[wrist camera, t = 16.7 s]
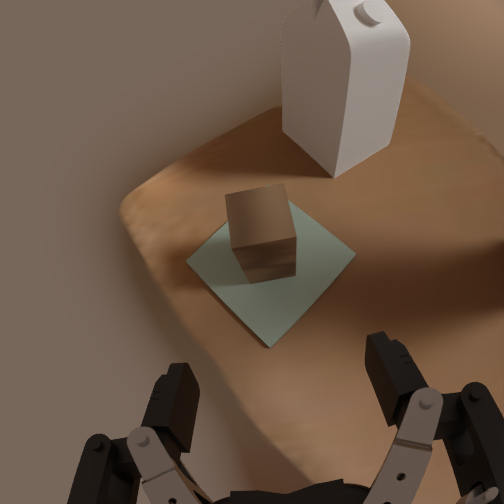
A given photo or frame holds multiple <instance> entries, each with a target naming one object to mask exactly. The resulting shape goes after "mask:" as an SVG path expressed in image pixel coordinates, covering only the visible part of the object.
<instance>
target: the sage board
mask: <svg viewBox="0 0 504 504" xmlns="http://www.w3.org/2000/svg"><path fill="white" fill-rule="evenodd" d="M267 186H268V185H267ZM267 186H266V187H267ZM288 202H289V206H290V210H291V214H292V218H293V223H294V227H295V231H296V235H297V250H296V276H292V277H287V278H282V279H276V280H271V281H265V282H260V283H254V284H250V283H249V281H248V279H247V277H246V275H245V273H244V271H243V270H242V268H241V266H240V264H239V262H238V260H237V258H236V257H235V255H234V253H233V251H232V249H231V242H230V234H229V225H228V221H227V222H226V223H225V224H224V225H223V226H222V227H221V228H220V229H219V230H218V231H217V232H216V233H215V234H213V235H212V236H211V237H210V238H209V239H208V240H207V241H206V242H205V243H204V244H203V245H202V246H201V247H200V248H199V249H198V250H197V251H196V252H194V253H193V254H192V255H191V256H190V257H189V258H188V259H187V260H186V263H187V264H188V265H189V266H190V267H191V268H192V269H193V270H194V271H195V272H196V273H197V274H198V275H199V277H200V278H201V279H202V280H203V281H204V282H205V283H206V284H207V285H208V286H209V287H210V288H211V289H212V290H213V291H214V292H215V293H216V294H217V295H218V297H219V298H220V299H221V300H222V301H223V302H224V303H225V304H226V305H227V306H228V307H229V308H230V309H231V310H232V311H233V312H234V313H235V314H236V315H237V316H238V317H239V318H240V319H241V320H242V321H243V322H244V323H245V324H246V325H247V326H248V327H249V328H250V329H251V330H252V331H253V332H254V333H255V334H256V335H257V336H258V337H259V338H260V339H261V340H262V341H263V342H264V343H265V344H266V345H268V346H269V347H270V348H271V347H272V346H273V345H274V344H275V343H276V342H277V341H278V340H279V339H280V338H281V337H282V336H283V335H284V334H285V333H286V332H287V331H288V330H289V329H290V328H291V327H292V326H293V325H294V324H295V323H296V322H297V321H298V320H299V318H300V317H301V316H302V315H303V314H304V313H305V312H306V311H307V310H308V309H309V308H310V307H311V306H312V305H313V303H314V302H315V301H316V300H317V299H318V298H319V297H320V296H321V295H322V294H323V292H324V291H325V290H326V289H327V288H328V287H329V286H330V285H331V284H332V282H333V281H334V280H335V279H336V278H337V277H338V276H339V274H340V273H341V272H342V271H343V270H344V269H345V267H346V266H347V265H348V264H349V263H350V261H351V260H352V259H353V258H354V257H355V255H356V253H355V252H354V251H352V250H351V249H350V248H349V247H347V246H346V245H345V244H344V243H343V242H341V241H340V240H339V239H338V238H336V237H335V236H334V235H333V234H331V233H330V232H329V231H328V230H326V229H325V228H324V227H323V226H321V225H320V224H319V223H318V222H316V221H315V220H314V219H312V218H311V217H310V216H308V215H307V214H306V213H305V212H303V211H302V210H301V209H299V208H298V207H297V206H295V205H294V204H293V203H291V202H290V201H289V200H288Z"/></svg>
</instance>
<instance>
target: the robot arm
mask: <svg viewBox="0 0 504 504" xmlns="http://www.w3.org/2000/svg"><path fill="white" fill-rule="evenodd" d="M365 367H366V371H367V373H368V376H369V378H370V381H371V383H372V386H373V388H374V391H375V393H376V396H377V398H378V401H379V403H380V406H381V409H382V411H383V414H384V417H385V419H386V422H387V425H388V427H389V426H392V425H395V424H396V426H397V429H398V431H397V433H396V436H395V438H394V440H393V443H392V445H391V447H390V450H389V452H388V454H387V456H386V458H385V460H384V462H383V464H382V466H381V468H380V470H379V472H378V474H377V476H376V478H375V480H374V481H373V483H372V485H371V487H370V488H368V487H366V486H362V485H358V484H349V483H344V482H343V479H338V480H334V481H329V482H324V483H318V484H314V485H311V486H309V487H306V488H303V489H301V490H298V491H295V492H292V493H289V494H280V493H272V492H265V491H258V490H256V491H231V492H230V497H226V498H223V499H220V500H218V501H215V502H213V501H212V500H211V499H210V498H209V496H208V495H207V494H206V493H205V492H204V491H203V490H202V489H201V488H200V487H199V485H198V484H197V482H196V481H195V480H194V478H193V477H192V476H191V474H190V473H189V471H188V470H187V469H186V467H185V465H184V464H183V462H182V461H181V460H180V456H181V452H183V453H190V448H191V442H192V436H193V430H194V425H195V419H196V413H197V408H198V402H199V397H200V389H199V385H198V382H197V380H196V378H195V376H194V374H193V372H192V370H191V368H190V366H189V364H188V363H172V364H171V365H170V366H169V369H168V372H167V375H161V377H160V378H159V379H158V380H157V381H156V383H155V385H154V388H153V391H152V392H153V393H152V394H151V397H150V401H149V403H148V406H147V409H146V412H145V415H144V418H143V421H142V424H141V427H139V428H136V429H134V430H133V431H132V432H131V433H130V434H129V436H128V437H126V438H120V439H114V440H110V439H109V438H108V437H107V436H106V435H103V434H95V435H93V436H91V437H90V438H89V439H88V440H87V442H86V444H85V447H84V450H83V453H82V456H81V459H80V462H79V465H78V468H77V471H76V475H75V478H74V481H73V484H72V488H71V492H70V495H69V499H68V502H67V504H136V502H137V495H138V490H139V484H140V479H141V478H142V477H143V480H144V481H143V482H142V487H143V489H144V491H145V493H146V495H147V497H148V498H149V500H150V502H151V504H411V503H412V501H413V499H414V497H415V494H416V492H417V490H418V488H419V485H420V483H421V480H422V478H423V476H424V473H425V470H426V468H427V465H428V462H429V460H430V457H431V453H432V447H431V446H432V442H433V440H439V439H443V442H444V444H445V447H446V450H447V453H448V456H449V459H450V462H451V465H452V468H453V471H454V474H455V478H456V481H457V484H458V488H459V491H460V495H461V498H460V499H459V500H458V501H457V503H456V504H504V418H503V416H502V414H501V412H500V410H499V408H498V407H497V405H496V403H495V401H494V399H493V397H492V396H491V394H490V392H489V390H488V389H487V387H486V386H485V385H483V384H481V383H479V382H472V383H469V384H467V385H466V386H465V387H464V388H463V389H462V391H461V392H457V393H449V394H440V392H438V391H437V390H436V389H433V388H429V386H428V385H427V383H426V381H425V380H424V378H423V376H422V374H421V373H420V371H419V369H418V367H417V366H416V364H415V362H413V359H412V357H411V355H409V352H408V350H407V349H406V347H405V345H403V344H402V343H400V342H399V341H398V340H396V339H395V340H392V341H390V340H389V339H388V337H387V335H386V333H385V332H384V331H382V332H378V333H374V334H370V335H367V339H366V351H365Z"/></svg>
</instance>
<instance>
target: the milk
mask: <svg viewBox="0 0 504 504" xmlns="http://www.w3.org/2000/svg"><path fill="white" fill-rule="evenodd" d="M409 51H410V39H409V35H408V33H407V31H406V29H405V28H404V26H403V24H402V23H401V22H400V20H399V19H398V17H397V16H396V15H395V13H394V12H393V11H392V9H391V8H390V7H389V6H388V4H387V3H386V2H385V1H384V0H303V1H301V2H300V3H299V4H298V5H297V6H295V7H294V8H293V9H292V10H291V11H289V12H288V13H287V14H286V15H285V17H284V18H283V20H282V23H281V55H282V56H281V57H282V131H283V132H284V133H285V134H286V135H287V136H289V137H290V138H291V139H292V140H293V141H294V142H295V143H297V144H298V145H299V146H300V147H301V148H302V149H303V150H304V151H305V152H307V153H308V154H309V155H310V156H311V157H312V158H313V159H314V160H315V161H316V162H317V163H318V164H319V165H320V166H322V167H323V168H324V169H325V170H326V171H327V172H328V173H329V174H330V175H331V176H332V177H333V178H336V177H337V176H339V175H340V174H342V173H344V172H345V171H347V170H348V169H350V168H352V167H353V166H355V165H356V164H358V163H360V162H361V161H363V160H365V159H366V158H368V157H369V156H371V155H373V154H374V153H376V152H378V151H379V150H381V149H383V148H384V147H386V146H388V145H389V144H390V140H391V136H392V132H393V129H394V125H395V121H396V117H397V112H398V108H399V104H400V99H401V95H402V90H403V85H404V80H405V75H406V69H407V63H408V57H409Z"/></svg>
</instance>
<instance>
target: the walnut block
mask: <svg viewBox="0 0 504 504" xmlns="http://www.w3.org/2000/svg"><path fill="white" fill-rule="evenodd" d="M225 199H226V208H227V217H228V225H229V234H230V242H231V249H232V251H233V253H234V255H235V257H236V258H237V260H238V262H239V264H240V266H241V268H242V270H243V271H244V273H245V275H246V277H247V279H248V281H249V283H250V284H254V283H260V282H265V281H271V280H276V279H282V278H287V277H292V276H296V250H297V235H296V231H295V227H294V223H293V218H292V214H291V210H290V206H289V202H288V198H287V194H286V190H285V186H284V184H278V185H272V186H267V187H262V188H256V189H251V190H246V191H241V192H236V193H231V194H227V195H225Z"/></svg>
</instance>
